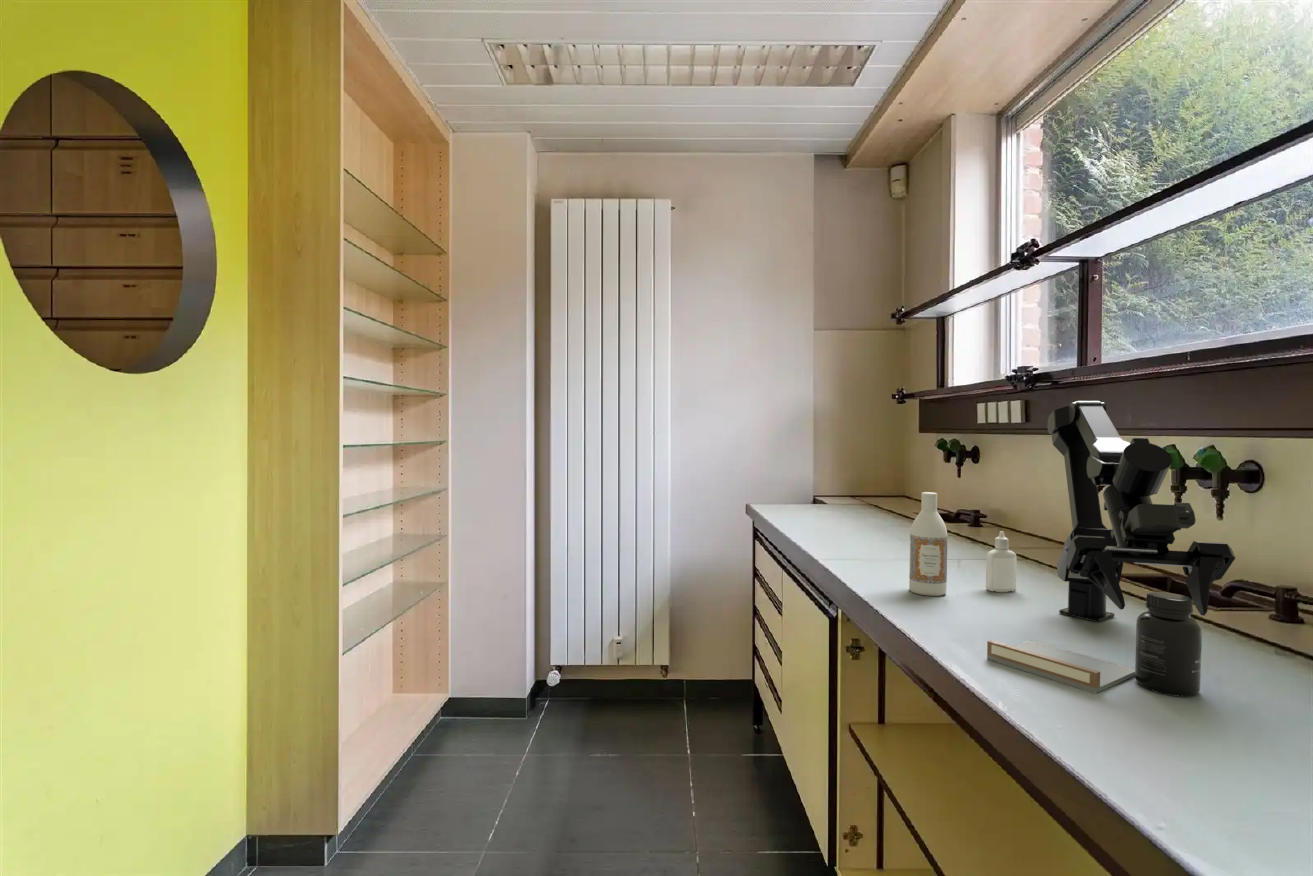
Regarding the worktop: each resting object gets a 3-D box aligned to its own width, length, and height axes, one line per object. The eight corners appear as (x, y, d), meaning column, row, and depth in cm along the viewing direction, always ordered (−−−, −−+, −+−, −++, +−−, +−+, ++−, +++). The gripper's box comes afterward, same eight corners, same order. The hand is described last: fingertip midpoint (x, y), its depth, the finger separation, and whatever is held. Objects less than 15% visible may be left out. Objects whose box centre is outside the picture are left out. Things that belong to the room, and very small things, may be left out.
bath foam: (910, 595, 133) (911, 494, 133) (908, 586, 140) (909, 490, 139) (948, 598, 131) (950, 495, 131) (944, 589, 138) (946, 491, 137)
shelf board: (1031, 644, 105) (1031, 627, 105) (1138, 674, 92) (1139, 655, 92) (986, 659, 98) (986, 641, 98) (1095, 693, 86) (1095, 673, 86)
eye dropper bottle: (1017, 594, 134) (1019, 534, 134) (986, 591, 136) (987, 532, 136) (1014, 589, 139) (1015, 530, 138) (984, 586, 141) (985, 529, 140)
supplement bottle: (1212, 700, 84) (1215, 604, 84) (1150, 695, 85) (1153, 601, 85) (1181, 679, 91) (1184, 590, 90) (1124, 675, 92) (1127, 588, 92)
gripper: (1073, 479, 97) (1097, 572, 87) (1229, 483, 92) (1275, 583, 81) (1057, 526, 105) (1077, 616, 94) (1200, 532, 99) (1238, 629, 89)
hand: (1162, 610), depth 90 cm, fingers open, 9 cm apart
